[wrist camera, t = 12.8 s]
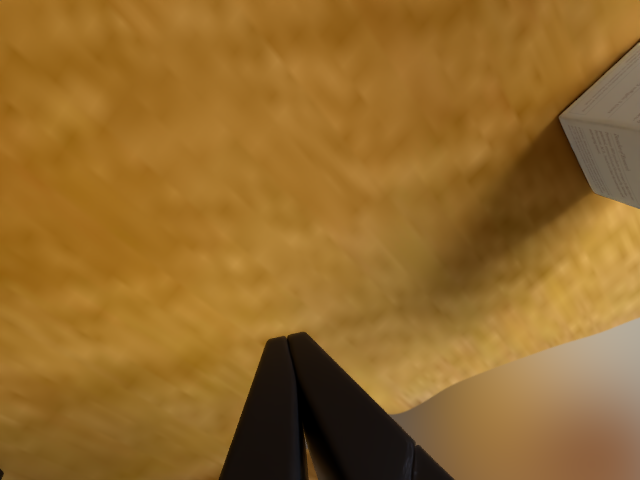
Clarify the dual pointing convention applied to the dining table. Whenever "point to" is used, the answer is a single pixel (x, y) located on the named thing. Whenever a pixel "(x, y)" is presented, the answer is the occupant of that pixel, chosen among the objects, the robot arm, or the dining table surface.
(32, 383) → the dining table surface
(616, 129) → the white packaging box
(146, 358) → the dining table surface
